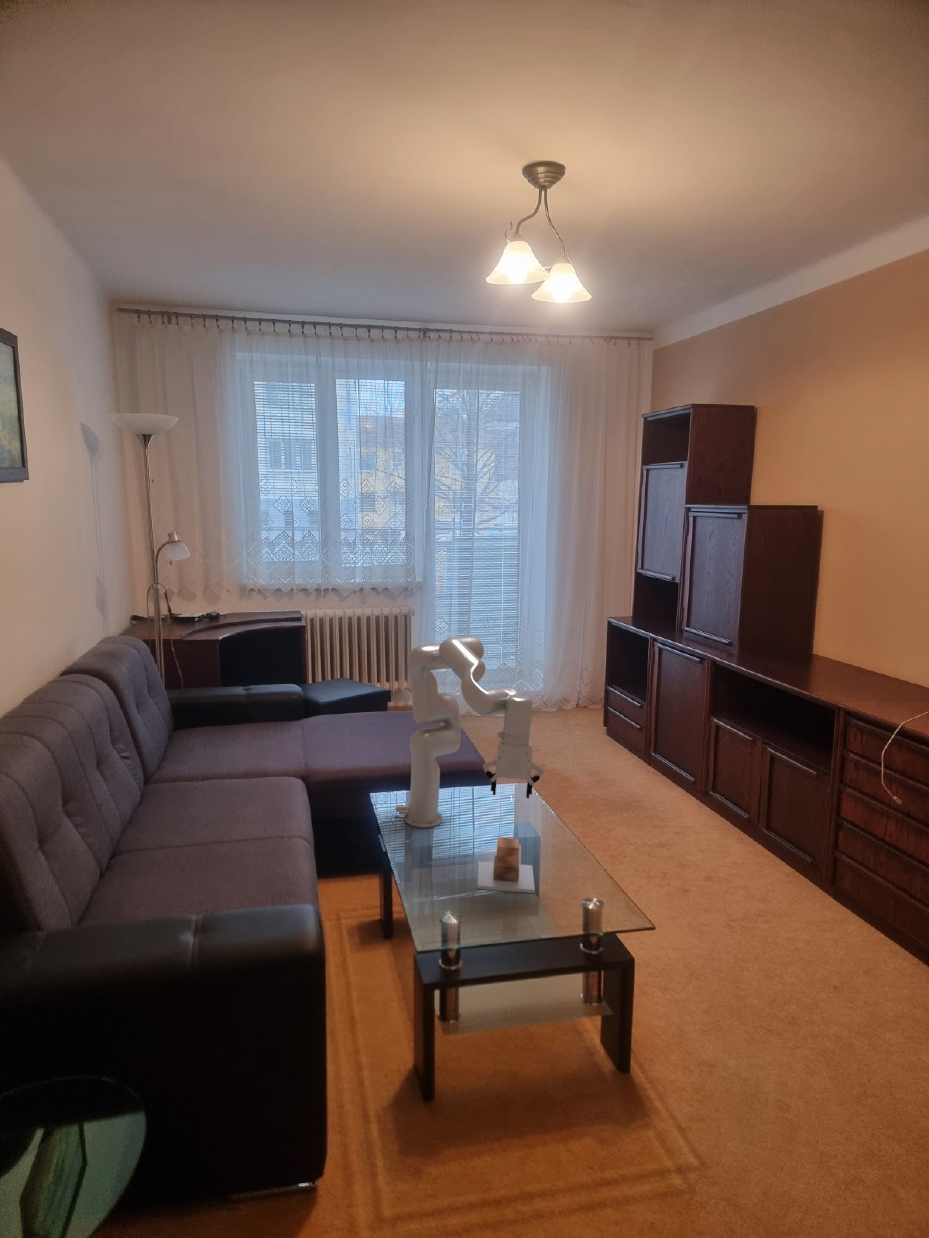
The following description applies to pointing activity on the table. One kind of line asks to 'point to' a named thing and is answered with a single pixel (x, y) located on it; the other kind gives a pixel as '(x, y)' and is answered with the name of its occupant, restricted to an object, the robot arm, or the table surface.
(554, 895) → the table surface
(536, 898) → the table surface
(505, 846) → the terracotta cube
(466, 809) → the table surface
